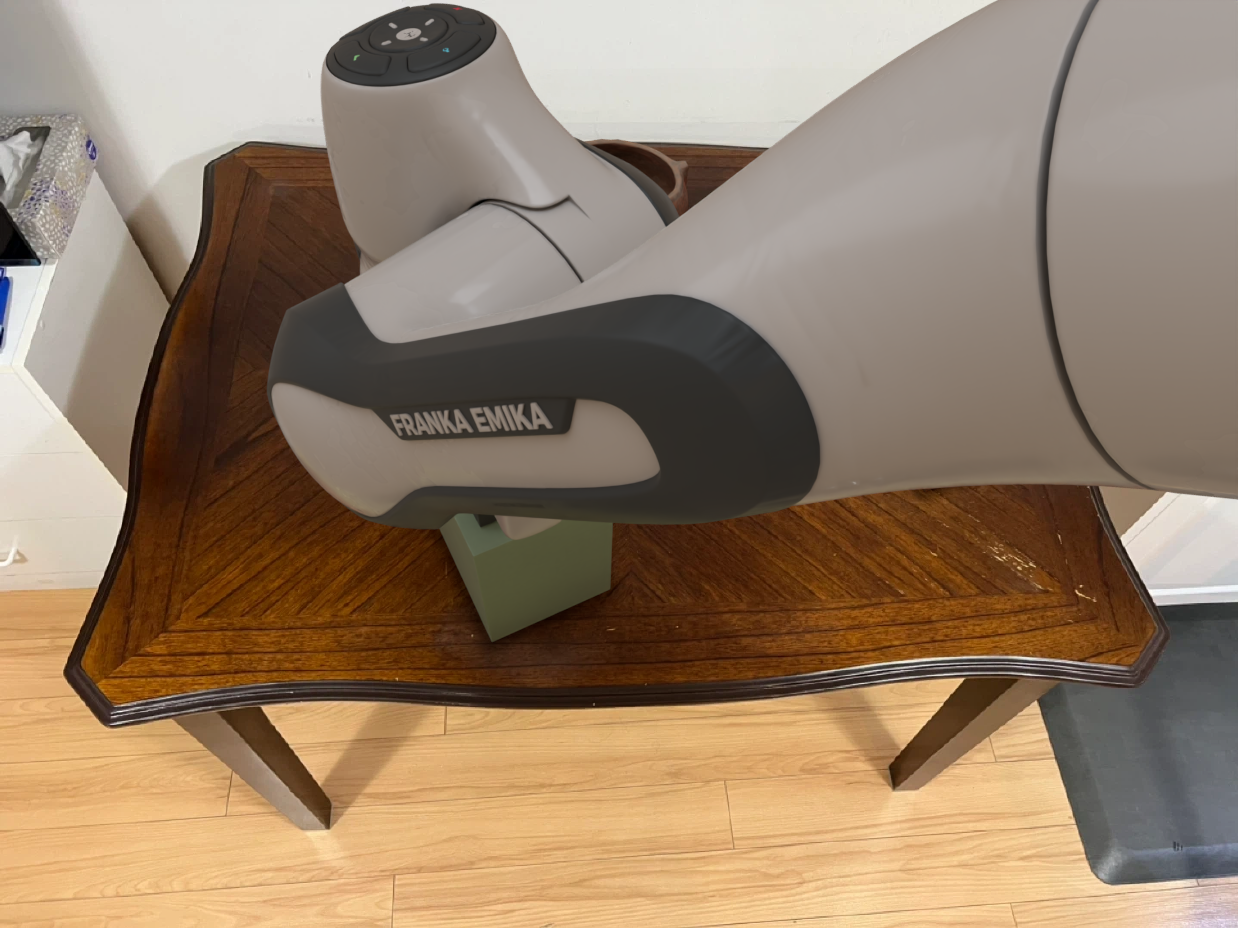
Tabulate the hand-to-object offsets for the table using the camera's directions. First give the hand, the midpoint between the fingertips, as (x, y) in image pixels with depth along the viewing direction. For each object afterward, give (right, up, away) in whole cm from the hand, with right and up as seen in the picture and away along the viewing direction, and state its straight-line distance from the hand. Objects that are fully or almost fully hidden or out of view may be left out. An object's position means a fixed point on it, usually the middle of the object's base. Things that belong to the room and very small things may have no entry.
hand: (480, 453), depth 62 cm
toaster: (0, -8, +22) cm, 23 cm away
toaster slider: (0, -4, +6) cm, 7 cm away
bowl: (+9, +24, +43) cm, 50 cm away
